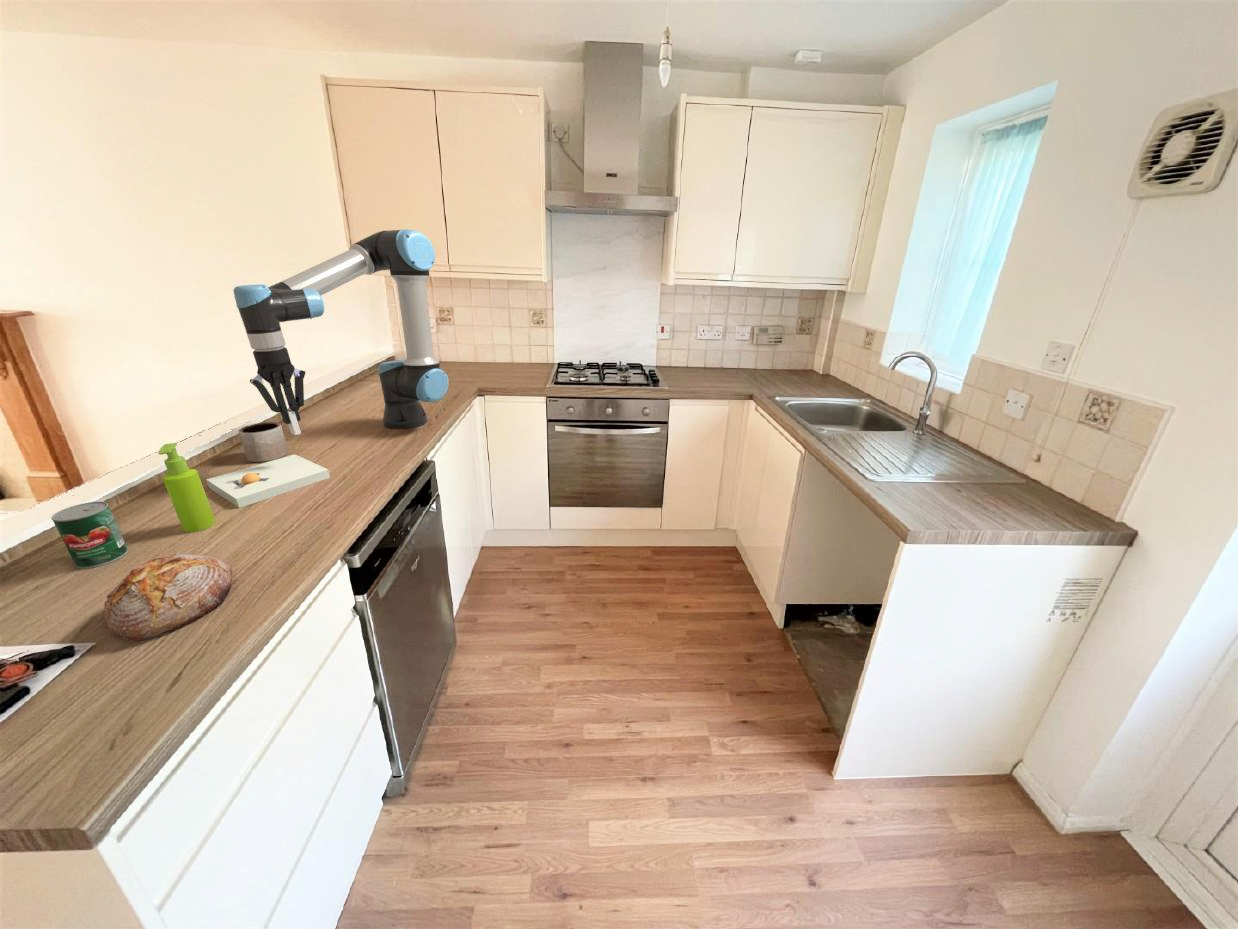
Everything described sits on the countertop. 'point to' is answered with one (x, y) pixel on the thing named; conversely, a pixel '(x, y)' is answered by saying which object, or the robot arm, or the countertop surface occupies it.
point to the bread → (166, 595)
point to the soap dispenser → (186, 492)
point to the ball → (250, 478)
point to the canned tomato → (90, 534)
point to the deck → (268, 480)
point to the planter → (263, 442)
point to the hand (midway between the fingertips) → (296, 433)
